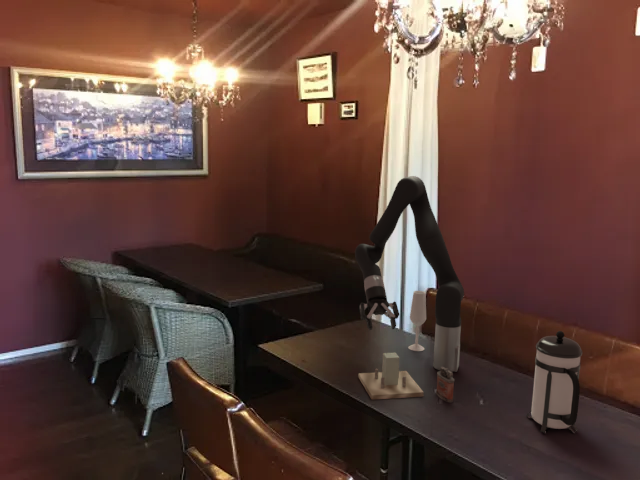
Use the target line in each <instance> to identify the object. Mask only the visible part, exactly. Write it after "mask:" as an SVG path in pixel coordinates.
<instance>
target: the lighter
mask: <svg viewBox="0 0 640 480" xmlns="http://www.w3.org/2000/svg"><path fill="white" fill-rule="evenodd" d="M440 370H441V371H440ZM440 370H439V371H437V372H436V376H437V379H436V390H435V394H436V396H438V398H440V399H441V400H442V401H444V402H446V403H453V402H454V384H455V382H456V381H455V378H453V376H454V373H453V371H452V372H451V371H449V369H448V368H444V367H441V369H440Z"/></svg>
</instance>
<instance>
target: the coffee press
mask: <svg viewBox="0 0 640 480" xmlns="http://www.w3.org/2000/svg"><path fill="white" fill-rule="evenodd" d="M535 348H536V355H535V358H534V359H535V360H534V363H535V364H534V365H535V366H534V375H533V386H532V395H531V403H530V404H531V405H530V411H529V412H528V413H527V414H526V418H527V417H528V416H530V413H531V416H530V417H531V418H530V419H533V420H534V421H535V422H536V423H537V424H539V425H541V427H540V431H539V432H540V433H541V432H543V433H542V434H544V433H545V431H547V432H548V429H549V428H550V429H556V430H557V429H558V430H561V429H568V430H569V431H570V430H571V428H572V427H573V429H574V431H575V432H576V431H577V430H578V428H577V426H576V424H575V423H576V422H577V419H578V413H579V412H578V411H579V401H580V390H581V387H580V380H579V379H580V370H581V357H582V356H583V350H582V348H581V346H580V345H579V343H578V342H576V340H573V339H571V338H568V337H565V332H563V331H561V330H558V331H557V332H556V333H555V335H547V336H543V337H542V338H540V339H539V340H538V342H536V344H535ZM571 426H572V427H571ZM577 432H578V431H577Z"/></svg>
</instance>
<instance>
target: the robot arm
mask: <svg viewBox="0 0 640 480" xmlns="http://www.w3.org/2000/svg"><path fill="white" fill-rule="evenodd" d="M408 206H409V207H410V209H411V211H412V215H413V217H414V218H413V219H414V231H415V236H416V237H415V238H416V240H417V244H418V246H419V248H420V251H421V253H422V255H423V257H424V259H425V260H426V262H427V263H428V264H429V266H430V267H431V268H432V270H433V272H434V275H435V277H436V280H437V283H438V289H437V291H436V293H435V302H434V303H435V305H434V306H435V307H434V308H435V309H434V310H435V311H434V316H435V331H434V332H435V333H434V344H433V345H434V347H433V348H434V349H433V364H432V365H433V368H434V369H436V370H437V371H439V372H440V371H441V370H440V369H441V367H444V368H448V369H449V371H451V372H452V373H453V372H458V369H459V366H460V353H461V352H460V351H461V329H462V318H461V308H462V307H461V306H462V301H463V299H464V297H465V290H464V286H463V285H462V283H461V281H460V279H459V277H458V275H457V273H456V270H455V269H454V266H453V264H452V260H451V258H450V254H449V251H448V249H447V246H446V241H445V239H444V237H443V234H442V231H441V230H440V227H439V224H438V222H437V219H436V216H435V215H434V212H433V209H432V207H431V204H430V201H429V196H428V192H427V188H426V185H425V183H424V181H423V179H422V178H420V177H418V176H417V175H411V176H407V177H403V178H401V179H400V180H399V181H398V182H397V184H396V186H395V188H394V190H393V193H392V195H391V198H390V200H389V202H388V205H387V206H386V208H385V210H384V211H383V213H382V215H381V217H380V219H379V220H378V222H377V223H376V225H375V226H374V227H373V229H372V231H371V232H370V233H369V240H370V242H372V243H373V245H369V244H366V243H359V244H358V245H357V246H356V247H355V250H354V256H355V261H356V262H357V265H358V266H359V268H360V269H359V270H360V271H361V273H362V277H363V283H364V284H363V285H364V293H365V296H366V297H365V298H366V303H364V302H360V304H359V314H360V320H362V321H363V320H364V321H365V322H366V327H367V329H368V330H369V331H372V330H373V321H372V316H373V315H375V316H379V315H380V316H385V317H387V318H388V319H390V320H389V321H390V325H391V330H395V328H396V327H397V322H396V319H397V320H398V318H399V316H400V312H399V309H398V304H397V301H393V302H389V301H388V297H387V292H386V288H385V282H384V280H383V277H382V271H381V268H380V265H378V263H379V262H380V261H381V259H382V256H383V253H384V250H385V246H386V244H387V242H388V241H389V239H390V237H391V236H392V234H393V232H394V231H395V229H396V227H397V225H398V222H399V219H400V217H401V216H402V214H403V212H404V211H406V208H407V207H408ZM366 309H368V311H369V313H368V314H367V315H366V311H365V310H366Z"/></svg>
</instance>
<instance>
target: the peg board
mask: <svg viewBox="0 0 640 480" xmlns="http://www.w3.org/2000/svg"><path fill="white" fill-rule="evenodd" d="M357 378H358V379H359V381H360V382H361V384H362V385H363V388H364V389H365V391H366V393H367V394H368V396H369V397H370V399H371V400H388V399H401V398H417V397H424V391H423V389H422V388H421V387H420V386H419V385H418V383H417V382H416V381H415V380H414V378H413V377H412V376H411V375H410V373H409V372H408V371H407V370H399V373H398V385H385V384H384V383H385V378H384V377H382V371H379V368H375V369H374V372H361V373H360V372H359V373H358V376H357Z"/></svg>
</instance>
